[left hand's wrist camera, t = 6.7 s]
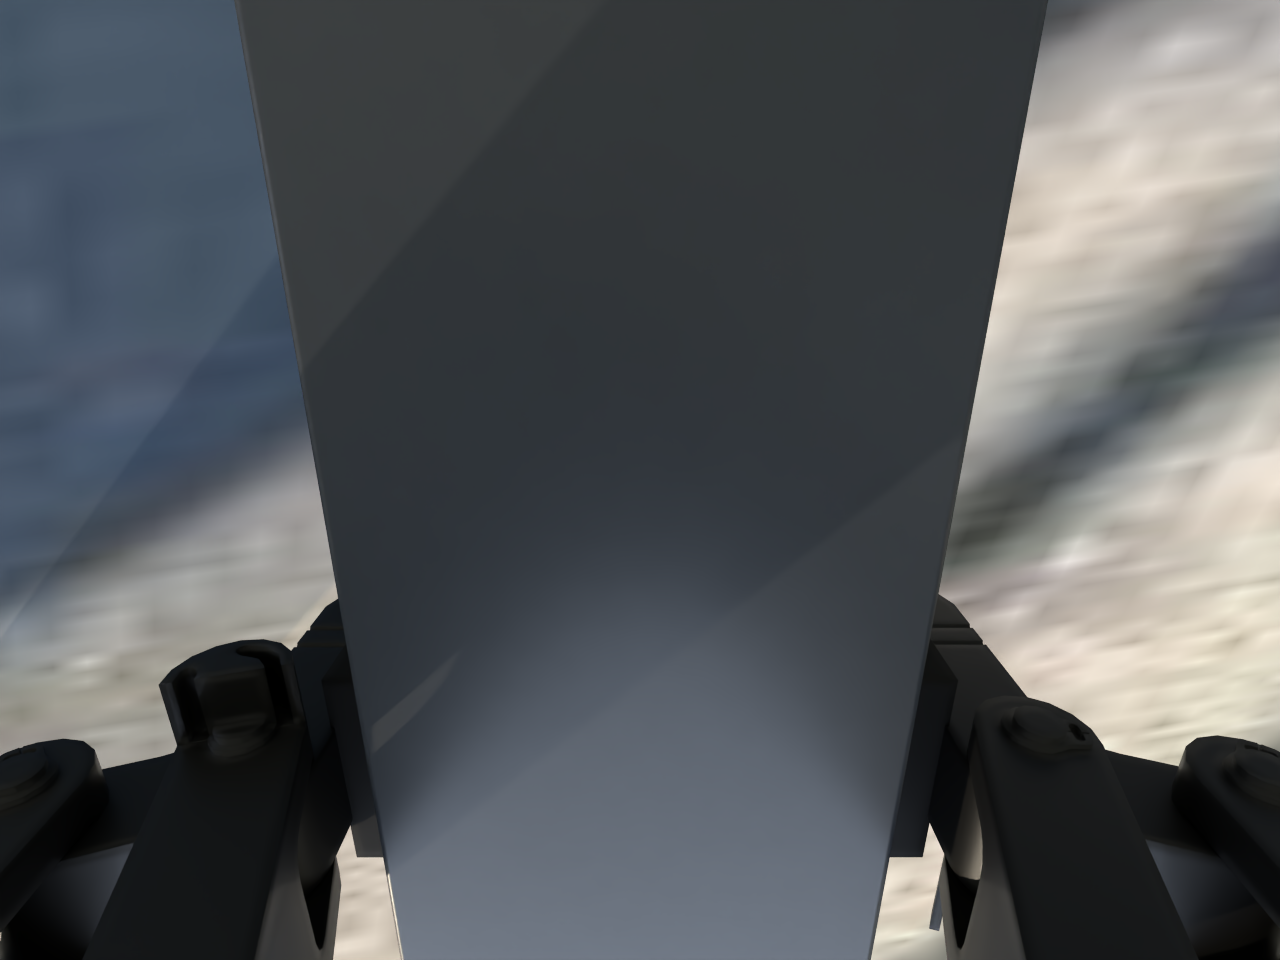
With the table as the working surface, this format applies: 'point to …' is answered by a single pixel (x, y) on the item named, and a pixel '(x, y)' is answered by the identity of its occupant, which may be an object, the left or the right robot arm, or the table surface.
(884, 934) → the table surface
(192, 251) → the table surface
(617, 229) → the beam
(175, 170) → the table surface
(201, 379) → the table surface
